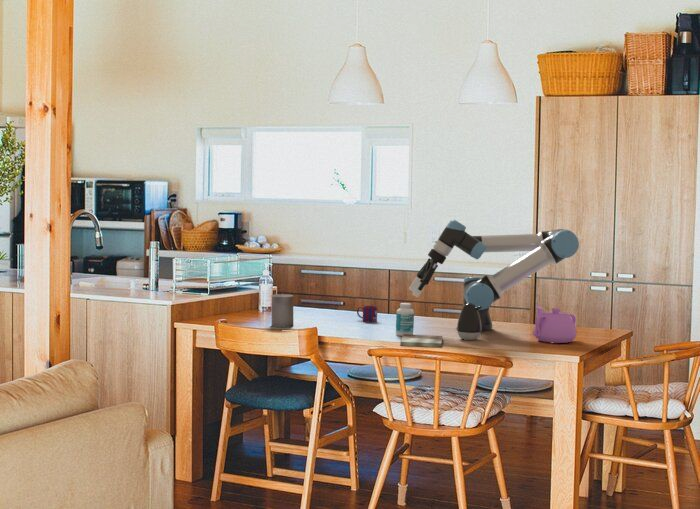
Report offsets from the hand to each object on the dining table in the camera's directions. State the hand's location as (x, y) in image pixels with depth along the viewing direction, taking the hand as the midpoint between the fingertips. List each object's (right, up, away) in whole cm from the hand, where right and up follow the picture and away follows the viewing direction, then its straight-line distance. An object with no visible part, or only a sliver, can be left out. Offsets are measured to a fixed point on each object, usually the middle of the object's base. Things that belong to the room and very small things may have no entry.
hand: (412, 293), depth 408 cm
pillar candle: (-57, -15, +8) cm, 60 cm away
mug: (-19, -14, +30) cm, 39 cm away
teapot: (+56, -19, -17) cm, 62 cm away
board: (+2, -19, -29) cm, 35 cm away
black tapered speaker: (+22, -19, -19) cm, 34 cm away
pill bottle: (-4, -17, -12) cm, 21 cm away
